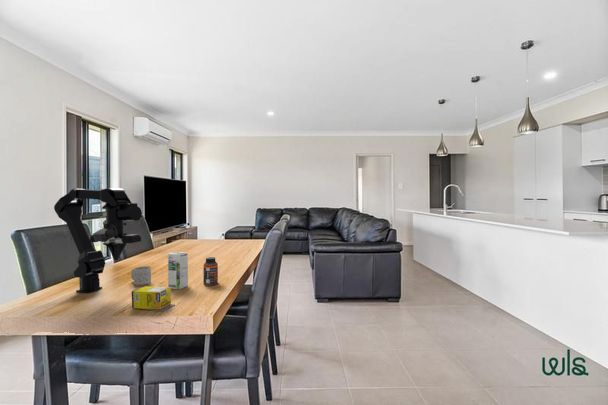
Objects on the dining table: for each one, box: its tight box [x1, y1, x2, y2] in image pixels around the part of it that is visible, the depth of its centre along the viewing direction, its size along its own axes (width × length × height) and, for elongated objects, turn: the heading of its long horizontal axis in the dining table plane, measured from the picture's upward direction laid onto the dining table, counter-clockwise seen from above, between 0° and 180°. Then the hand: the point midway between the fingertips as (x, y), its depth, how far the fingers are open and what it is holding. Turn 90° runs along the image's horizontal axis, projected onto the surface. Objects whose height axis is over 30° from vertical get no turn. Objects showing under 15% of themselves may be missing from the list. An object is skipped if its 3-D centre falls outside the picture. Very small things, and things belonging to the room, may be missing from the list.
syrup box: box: [167, 251, 189, 290], centre depth 132 cm, size 6×6×14 cm
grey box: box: [130, 265, 152, 286], centre depth 140 cm, size 10×7×7 cm, turn 66°
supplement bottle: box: [202, 256, 219, 286], centre depth 137 cm, size 6×6×11 cm
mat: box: [137, 303, 176, 313], centre depth 109 cm, size 11×6×1 cm, turn 73°
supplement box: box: [131, 285, 172, 310], centre depth 109 cm, size 6×6×11 cm
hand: (116, 260), depth 124 cm, fingers closed
